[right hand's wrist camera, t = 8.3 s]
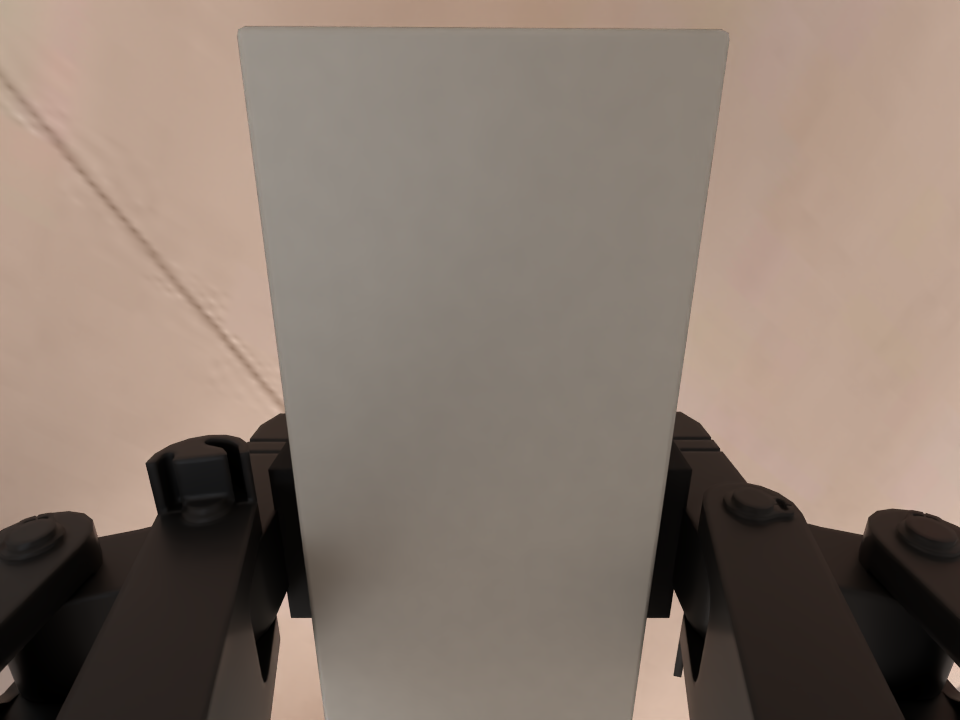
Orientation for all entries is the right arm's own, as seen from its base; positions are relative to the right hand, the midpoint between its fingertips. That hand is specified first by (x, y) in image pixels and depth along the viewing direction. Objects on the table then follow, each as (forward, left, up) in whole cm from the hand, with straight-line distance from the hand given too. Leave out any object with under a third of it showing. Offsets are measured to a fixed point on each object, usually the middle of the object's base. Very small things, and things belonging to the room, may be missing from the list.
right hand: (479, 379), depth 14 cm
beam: (+14, +15, -1) cm, 20 cm away
